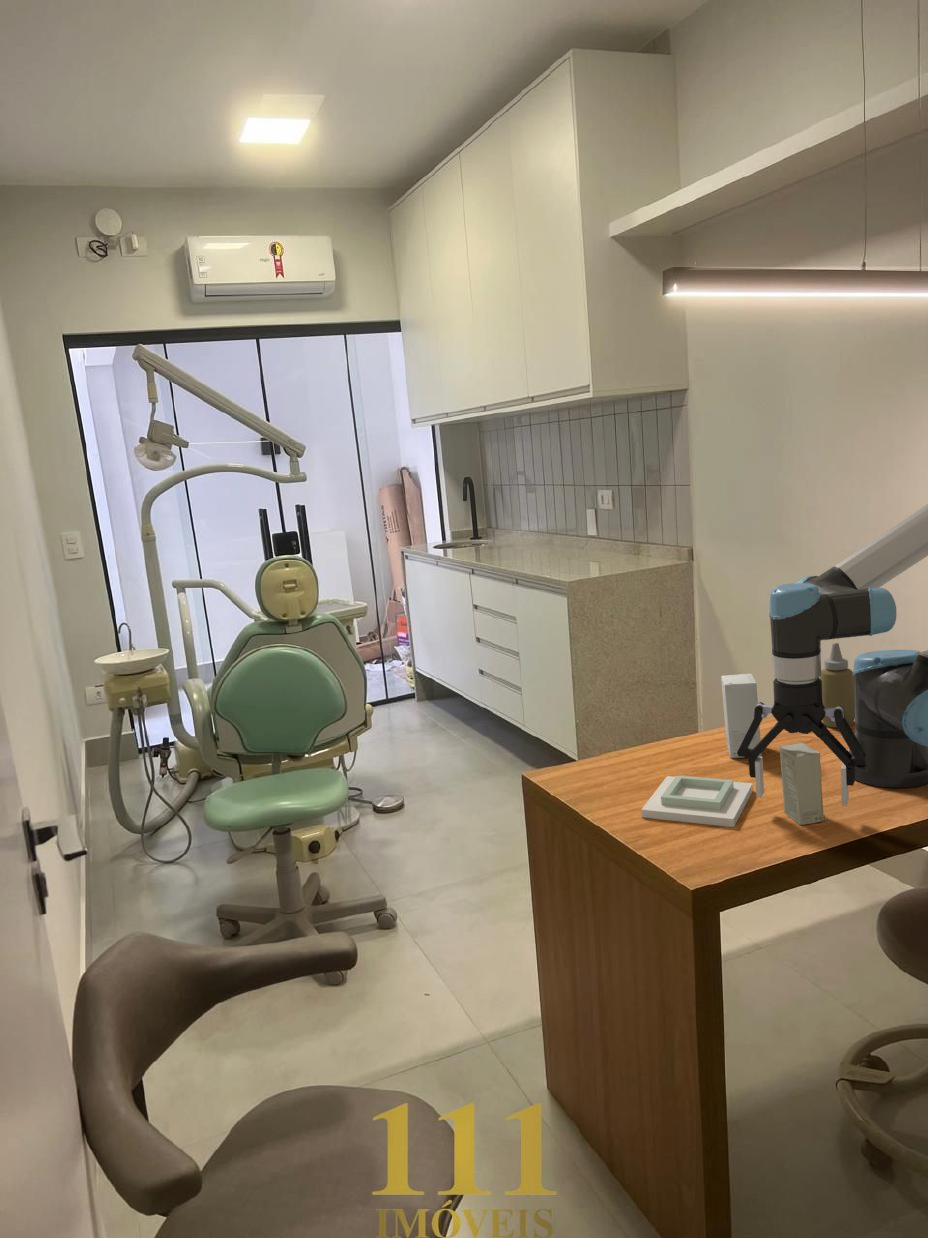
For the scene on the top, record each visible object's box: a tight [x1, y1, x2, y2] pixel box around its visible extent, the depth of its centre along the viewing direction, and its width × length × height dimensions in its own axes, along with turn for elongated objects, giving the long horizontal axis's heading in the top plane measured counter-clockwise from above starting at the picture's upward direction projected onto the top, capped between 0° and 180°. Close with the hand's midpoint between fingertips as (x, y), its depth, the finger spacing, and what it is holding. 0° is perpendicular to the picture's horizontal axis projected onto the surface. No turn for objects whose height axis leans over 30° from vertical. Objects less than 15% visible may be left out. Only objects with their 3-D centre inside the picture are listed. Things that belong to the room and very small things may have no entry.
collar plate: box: [641, 775, 754, 828], centre depth 162 cm, size 16×16×3 cm
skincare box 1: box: [720, 673, 763, 759], centre depth 183 cm, size 8×7×16 cm
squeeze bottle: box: [819, 642, 855, 729], centre depth 192 cm, size 8×8×18 cm
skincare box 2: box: [779, 742, 825, 826], centre depth 151 cm, size 6×4×12 cm
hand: (802, 799), depth 152 cm, fingers open, 13 cm apart
